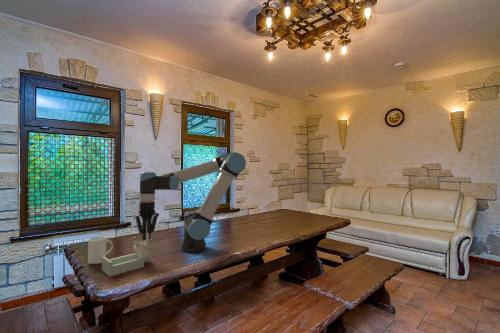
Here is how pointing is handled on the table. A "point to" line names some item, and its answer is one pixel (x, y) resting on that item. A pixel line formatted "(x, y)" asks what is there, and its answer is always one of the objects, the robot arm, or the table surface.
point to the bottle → (140, 249)
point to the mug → (97, 249)
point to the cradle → (121, 264)
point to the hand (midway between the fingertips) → (146, 245)
